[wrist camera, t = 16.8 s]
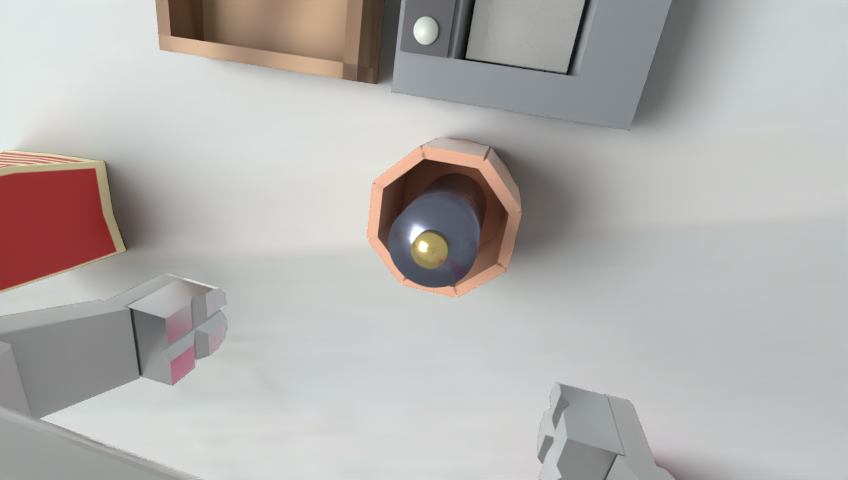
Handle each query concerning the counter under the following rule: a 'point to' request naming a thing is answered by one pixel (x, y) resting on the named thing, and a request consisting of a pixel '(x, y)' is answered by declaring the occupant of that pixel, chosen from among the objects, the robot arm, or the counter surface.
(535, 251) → the counter surface
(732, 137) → the counter surface
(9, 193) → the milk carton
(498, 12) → the plate
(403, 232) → the cell
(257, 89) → the counter surface
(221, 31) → the trough
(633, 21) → the grey rectangular frame box
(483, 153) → the cup
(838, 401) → the counter surface
